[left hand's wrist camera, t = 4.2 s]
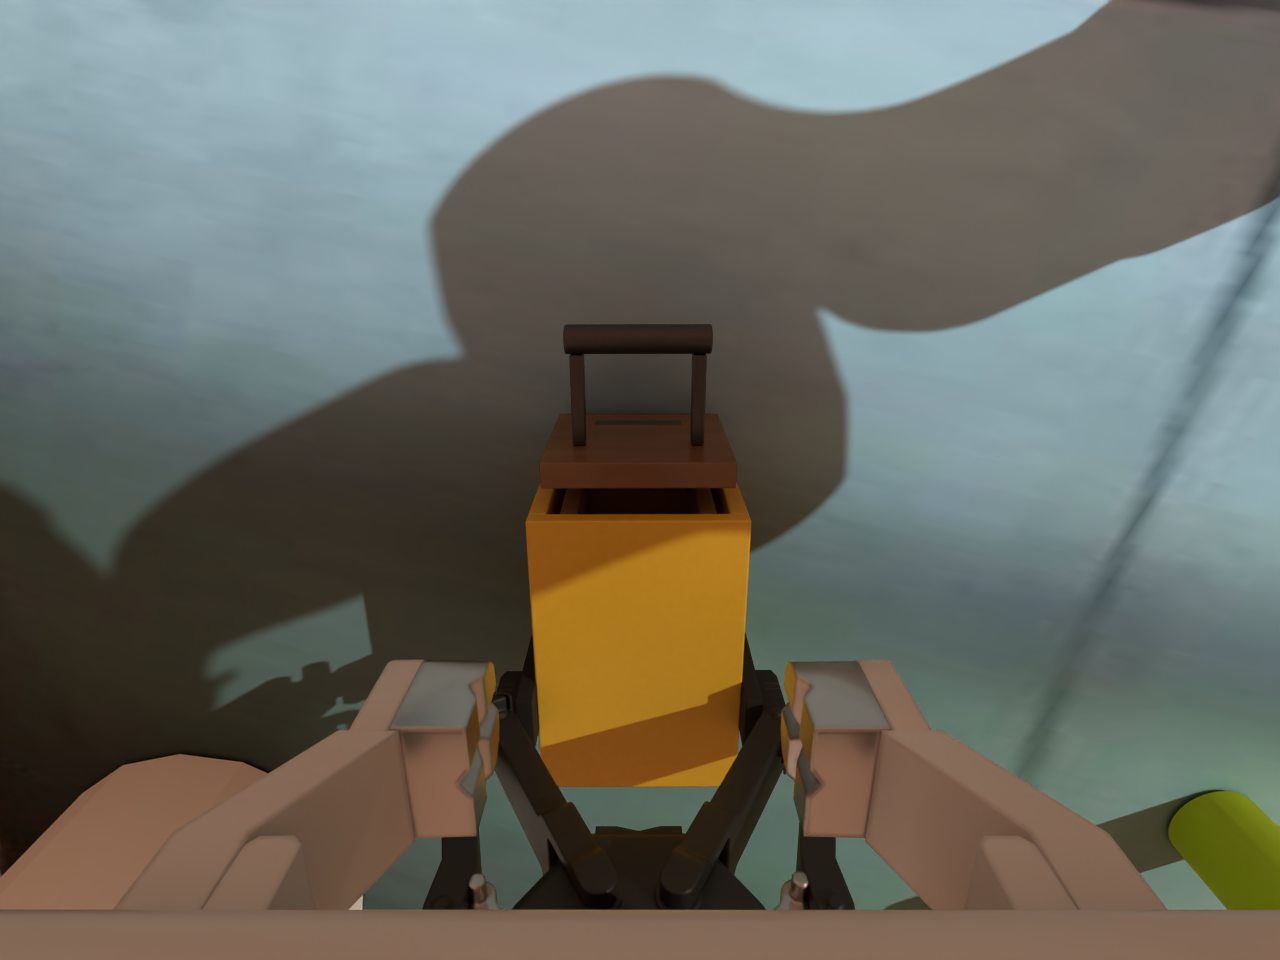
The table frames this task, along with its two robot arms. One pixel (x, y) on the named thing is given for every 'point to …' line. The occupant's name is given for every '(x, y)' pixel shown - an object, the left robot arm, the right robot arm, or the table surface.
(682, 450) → the drawer
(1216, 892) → the soap dispenser
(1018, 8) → the table surface
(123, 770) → the container
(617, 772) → the open yellow box
